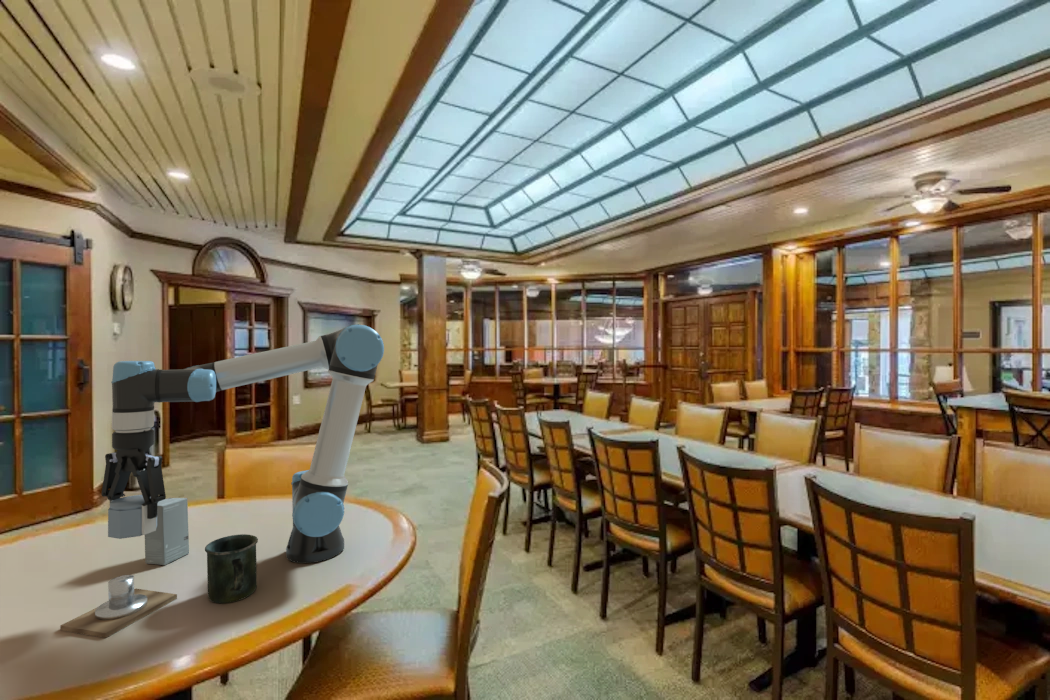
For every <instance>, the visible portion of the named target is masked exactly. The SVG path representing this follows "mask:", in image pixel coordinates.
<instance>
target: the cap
mask: <svg viewBox="0 0 1050 700" xmlns="http://www.w3.org/2000/svg"><path fill="white" fill-rule="evenodd" d="M150 498H151V497H150ZM143 503H145V502H144V499H143V496H142V494H134V495H129V496H123V497H120V498H119V499H116V500H113V501H111V502H110V501H109V507H108V510H107V511H108V512H107V538H112V539H119V540H120V539H121V540H122V539H123V540H124V539H128V538H136V537H141V536H143V535H142V504H143ZM156 528H157V517H156Z"/></svg>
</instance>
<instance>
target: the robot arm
mask: <svg viewBox="0 0 1050 700" xmlns="http://www.w3.org/2000/svg"><path fill="white" fill-rule="evenodd" d="M384 353H385V345H384V341H383V338H382V337H381V335H380V334H379V332H378V331H376V330H375V329H373V328H372V327H370V326H369V325H368V326H367V324H366V325H365V324H352V325H349V326H345V327H343V328H342V329H338V330H336V331H334V332H330V333H328V334H323V335H320V336H318V338H317V339H316V340H313V341H309V342H308V341H307V342H303V343H299V344H294V345H293V344H292V345H289V346H284V347H280V348H279V347H278V348H274V349H270V350H266V351H262V352H261V351H260V352H256V353H250V354H246V355H242V356H238V357H232V358H227V359H222V360H218V361H215V362H209V363H205V364H200V365H199V364H198V365H192V366H189V367H186V368H183V369H182V368H181V369H179V368H178V369H159V368H156V367H155V362H153V361H152V360H120V361H117V362H115V363H114V365H113V368H112V380H111V391H112V392H111V393H112V394H111V395H112V396H111V397H112V410H111V411H112V412H111V429H112V431H113V430H114V431H113V433H111V441H112V442H111V447H112V449H114V450H116V451H115V452H114V451H113V452H110V453H106V454H105V457H104V458H105V468H104V476H103V482H102V488H101V496H102V497H103V498H105V497H106V498H107V500H108V501H109V503H110V502H111V501H113V500H116V499H119V498H123V497H126V494H125V493H124V492H125V489H126V487H127V484H128V482H129V479H130V476H131V474H132V476H133V477H135V478H136V481H137V483H138V486H139V489H140V492H141V495H142V496H143V499H144V502H145V503H143V504H142V536H145V534H148V533H151V532H153V531H156V517H157V504H158V502H159V501H162V500H165V499H167V498H166V497H167V496H166V495H167V494H166V490H165V481H164V476H163V470H162V463H163V457H162V455H157V456H154V455H152V452H151V447H152V446H153V445H154V444H155V430H154V429H153V427H154V426H155V403H180V402H181V403H183V402H184V403H186V402H187V403H188V402H189V403H190V402H195V403H200V402H210V401H213V400H214V399H215V398H216V393H217V392H220V391H225V390H229V389H232V388H233V389H234V388H236V387H241V386H245V385H251V384H254V383H258V382H263V381H267V380H273V379H277V378H281V377H285V376H289V375H293V374H294V375H295V374H298V373H303V372H306V371H310V370H316V369H320V368H324V369H326V370H328V373H329V374H330V376H331V379H332V380H331V383H330V388H329V392H328V395H327V400H326V404H325V407H324V412H323V416H322V419H321V422H320V423H321V424H320V427H319V431H318V435H317V439H316V443H315V447H314V450H313V455H312V458H311V463H310V467H309V469H307V470H301V471H297V472H295V473H294V474H293V475H292V477H291V487H292V488H291V489H292V490H291V493H292V498H291V499H292V501H291V502H292V529H291V532H290V535H289V539H288V542H287V544H286V548H285V551H286V552H285V557H286V559H287V560H288V561H290V562H292V563H299V564H311V563H310V562H312V563H318V562H317V561H319V562H322V560H323V561H327V560H329V558H330V559H332V558H331V557H333V556H335V555H337V554H338V555H340V554H341V553H342V552H343V551H344V550H345V539H344V537H343V534H342V531H341V527H340V524H341V523H342V521H343V518H344V515H345V505H344V502H345V500H346V494H347V490H348V486H349V481H348V479H347V478H346V476H345V473H346V469H347V466H348V462H349V457H350V453H351V449H352V445H353V441H354V437H355V433H356V428H357V424H358V420H359V417H360V412H361V409H362V405H363V400H364V396H365V391H366V389H367V386H368V385H369V384H371V383H373V382H374V380H375V376H376V374H377V368H378V365H379V364H380V362H381V361H382V358H383V357H384ZM150 497H151V498H150ZM343 549H344V550H343ZM342 550H343V551H342ZM341 551H342V552H341ZM340 552H341V553H340ZM339 553H340V554H339ZM338 555H337V556H338ZM335 557H336V556H335ZM333 558H334V557H333ZM326 559H327V560H326Z"/></svg>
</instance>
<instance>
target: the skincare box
mask: <svg viewBox="0 0 1050 700" xmlns="http://www.w3.org/2000/svg"><path fill="white" fill-rule="evenodd" d="M188 507H189V506H188V498H187V497H168V498H166V499H165V500H162V501H159V502H158V504H157V528H156V531H153V532H151V533H148V534H145V535H144V556H145V558H144V559H145V560H144V561H145V564H150V565H158V566H159V565H162V566H167V565H168V564H171V563H172V562H175V561H176V560H179V559H180V558H182V557H184V556H187V555H188V554H190V544H189V543H190V542H189V540H190V538H189V512H188V511H189V510H188V509H189V508H188Z"/></svg>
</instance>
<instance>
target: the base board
mask: <svg viewBox="0 0 1050 700" xmlns="http://www.w3.org/2000/svg"><path fill="white" fill-rule="evenodd" d="M134 594H142V595H145V596H147V605H146V606H145V607H144V608H143V609H142V610H140V611H138V612H136V613H134V614H132V615H129V616H126V617H123V618H119V619H114V620H98V619H96V618H95V610H96V608H97V607H95V608H93V609H91V610H89V611H87V612H85V613H83V614H81V615H79V616H77V617H75V618H72V619H70V620H68V621H67V622H64V623H63V624H61V625H60V626H59V627H60V628H59V629H60V631H61V632H62V631H63V632H69V633H75V634H80V635H86V636H91V637H97V638H102V639H103V638H104V639H107V638H108V637H110V636H112V635H114V634H116V633H117V632H119V631H121V630H123V629H125V628H127V627H129V626H130V625H133V624H134V623H135V622H138V621H139V620H141V619H143V618H145V617H146V616H149V615H150V614H152V613H153V612H155V611H157V610H160V609H161V608H163V607H164V606H166V605H169V604H170V603H171V602H174V601H175V600H177V599H178V594H176V593H171V592H164V591H156V590H148V589H142V588H134Z"/></svg>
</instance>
